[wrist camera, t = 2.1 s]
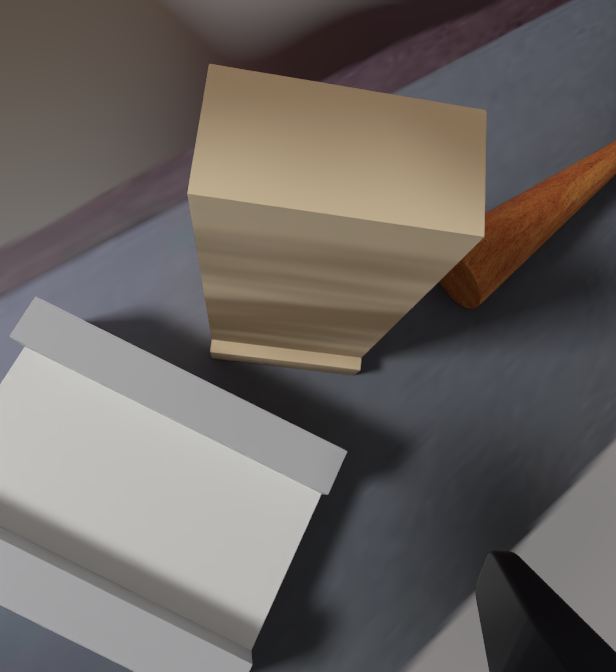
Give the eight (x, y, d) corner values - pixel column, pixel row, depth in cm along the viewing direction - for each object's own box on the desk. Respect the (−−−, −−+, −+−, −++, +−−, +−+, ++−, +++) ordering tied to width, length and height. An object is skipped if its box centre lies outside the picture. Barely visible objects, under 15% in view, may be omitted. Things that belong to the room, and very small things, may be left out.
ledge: (229, 679, 21) (228, 718, 17) (-69, 532, 21) (-128, 541, 17) (331, 455, 23) (347, 451, 20) (64, 323, 23) (35, 296, 20)
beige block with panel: (354, 375, 24) (484, 259, 11) (211, 358, 23) (183, 217, 11) (361, 286, 25) (486, 90, 12) (224, 267, 24) (212, 44, 12)
